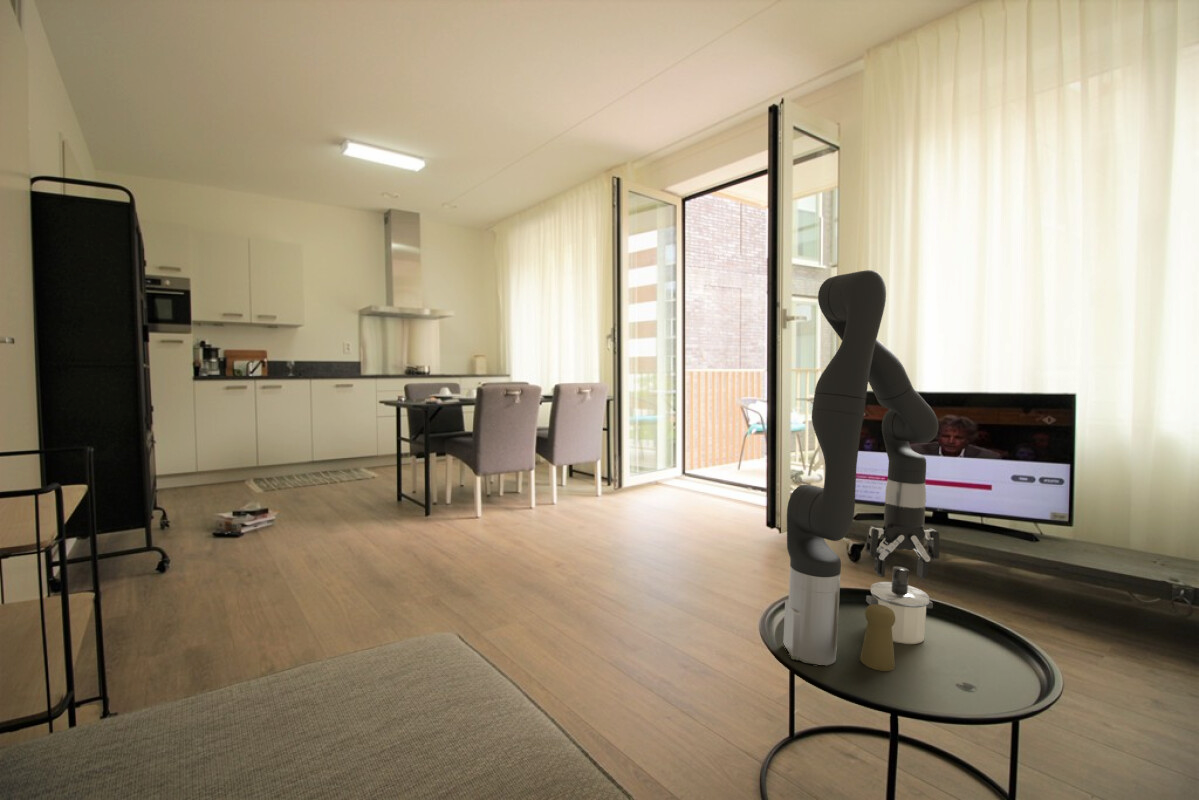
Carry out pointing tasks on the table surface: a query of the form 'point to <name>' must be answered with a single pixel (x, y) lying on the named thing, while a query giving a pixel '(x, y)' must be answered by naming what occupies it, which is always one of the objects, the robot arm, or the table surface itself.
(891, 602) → the lid
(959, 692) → the table surface
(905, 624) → the pot
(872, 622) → the cork
